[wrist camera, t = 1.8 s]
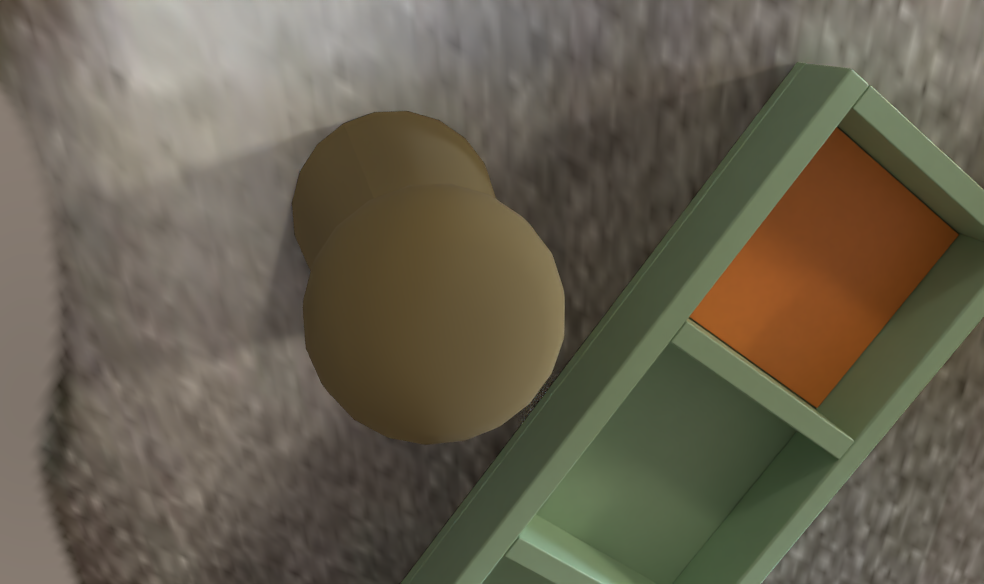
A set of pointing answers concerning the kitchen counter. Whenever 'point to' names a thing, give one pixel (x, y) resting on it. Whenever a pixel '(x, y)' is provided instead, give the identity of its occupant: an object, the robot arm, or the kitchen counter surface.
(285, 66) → the kitchen counter surface
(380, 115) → the cork
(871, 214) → the compartment tray
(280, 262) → the kitchen counter surface
